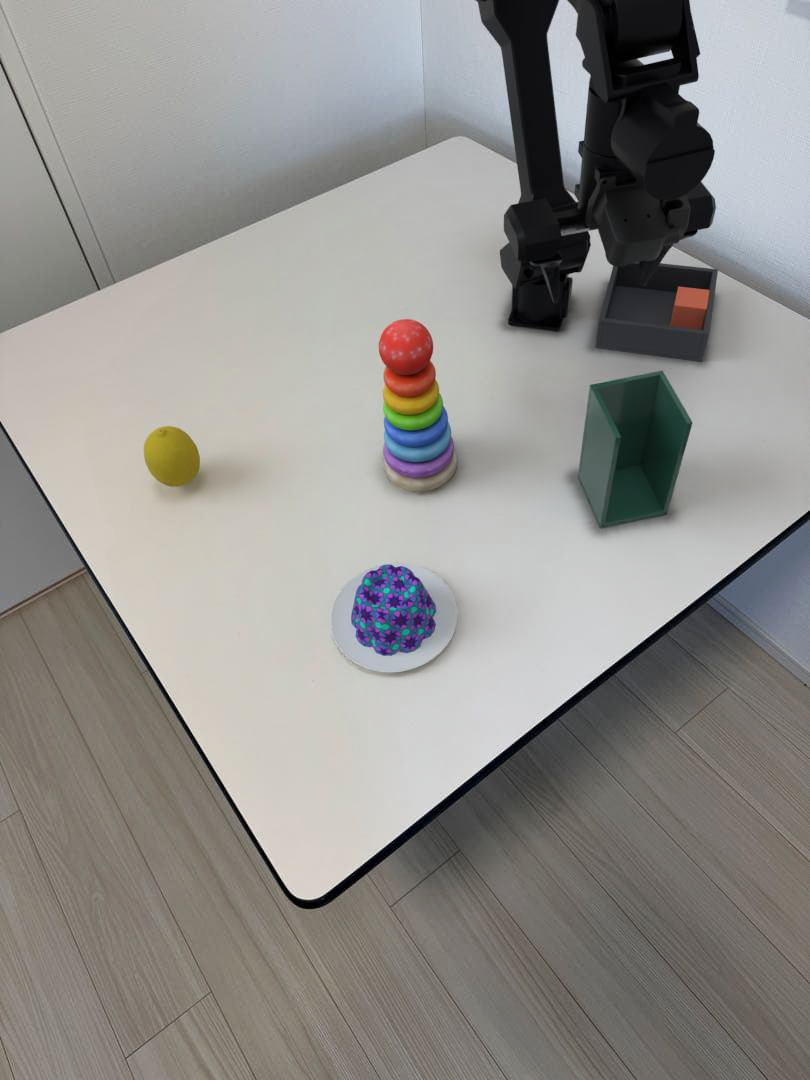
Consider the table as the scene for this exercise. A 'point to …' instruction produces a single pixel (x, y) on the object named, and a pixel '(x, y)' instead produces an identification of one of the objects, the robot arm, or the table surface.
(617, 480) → the pour tub
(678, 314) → the toy cube
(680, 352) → the bin
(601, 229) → the robot arm
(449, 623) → the pudding
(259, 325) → the table surface
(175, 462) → the lemon
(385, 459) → the stacking toy
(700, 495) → the table surface
